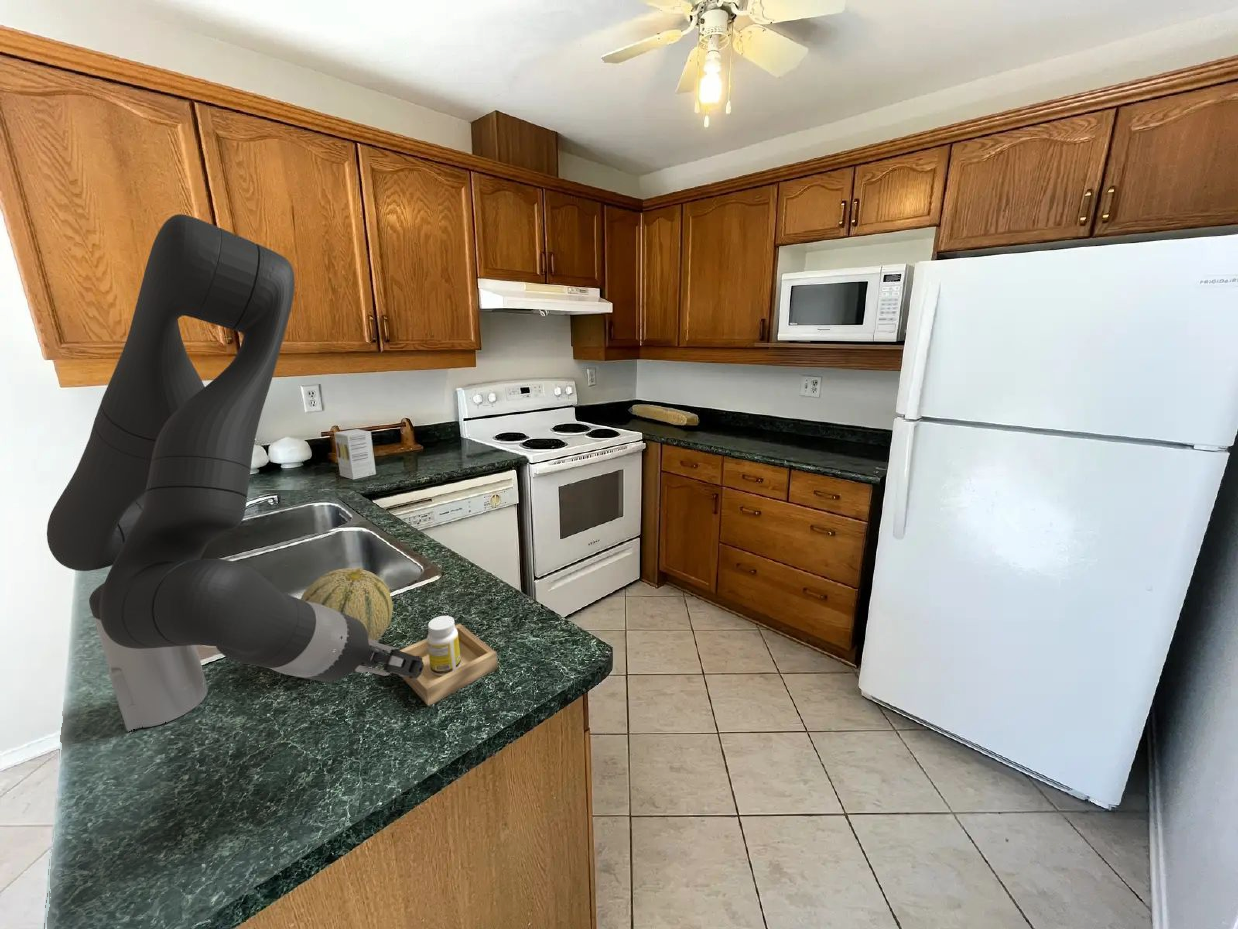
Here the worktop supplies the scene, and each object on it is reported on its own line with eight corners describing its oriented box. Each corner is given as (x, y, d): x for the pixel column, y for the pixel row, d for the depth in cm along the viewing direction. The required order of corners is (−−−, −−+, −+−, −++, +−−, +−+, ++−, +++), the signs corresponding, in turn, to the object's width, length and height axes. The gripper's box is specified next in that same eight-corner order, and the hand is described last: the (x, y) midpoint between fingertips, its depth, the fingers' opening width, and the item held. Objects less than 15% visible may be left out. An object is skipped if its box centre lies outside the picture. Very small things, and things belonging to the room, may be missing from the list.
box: (428, 706, 75) (426, 689, 74) (395, 669, 83) (392, 653, 82) (497, 668, 83) (496, 652, 82) (461, 638, 91) (459, 623, 90)
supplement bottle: (450, 654, 86) (446, 610, 83) (466, 665, 83) (462, 621, 81) (424, 668, 82) (419, 623, 80) (441, 681, 79) (436, 634, 77)
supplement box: (339, 475, 190) (332, 432, 185) (362, 470, 197) (357, 428, 193) (353, 480, 185) (347, 435, 180) (377, 474, 192) (371, 431, 188)
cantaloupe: (296, 645, 89) (281, 568, 85) (383, 615, 98) (373, 545, 94) (311, 689, 78) (295, 604, 74) (408, 652, 87) (398, 574, 83)
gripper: (381, 618, 56) (447, 645, 70) (279, 599, 60) (361, 628, 74) (352, 689, 53) (427, 703, 67) (245, 664, 56) (337, 683, 70)
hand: (392, 664), depth 70 cm, fingers open, 8 cm apart
